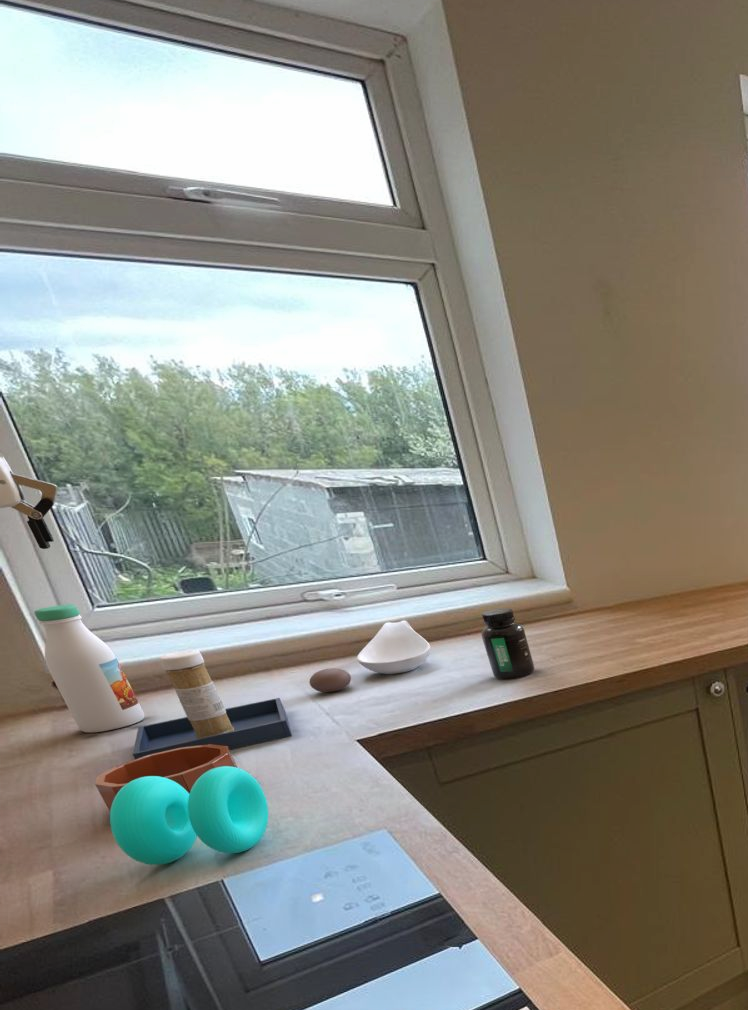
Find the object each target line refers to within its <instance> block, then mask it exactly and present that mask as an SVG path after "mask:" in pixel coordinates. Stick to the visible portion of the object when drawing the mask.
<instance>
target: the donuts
mask: <svg viewBox="0 0 748 1010" xmlns="http://www.w3.org/2000/svg"><path fill="white" fill-rule="evenodd" d="M109 822H110V829H111V832H112V835H113V838H114V840H115V842H116V844H117V845H118V847H119V848H120V849H121V850H122V851H123V852H124V853H125V854H126V856H128V857H130V858H131V859H132V860H133V861H136V862H138V863H141V864H145V865H149V866H150V865H151V866H160V865H166V864H170V863H173V862H175V861H177V860H179V859H181V858H182V857H184V856H185V855H186V854H187V853H188V852H189V851H190V849H191V848H192V847H193V845H194V844H195V842H196V841H197V838H198V839H199V840H200V841H201V842H202V843H203V844H204V845H206V846H207V847H208V848H210V849H212V850H215V851H217V852H219V853H224V854H238V853H243V852H245V851H248V850H250V849H252V848H253V847H255V846H256V845H257V844H258V843H259V842H260V841H261V840H262V838H263V837H264V834H265V832H266V830H267V827H268V823H269V807H268V801H267V798H266V796H265V792H264V790H263V788H262V786H261V785H260V783H259V782H258V780H257V779H256V778H255V777H254V776H253V775H252V774H251V773H249V772H247V771H246V770H244V769H242V768H239V767H238V768H236V767H230V766H223V767H217V768H214V769H211V770H209V771H207V772H205V773H204V774H203V775H202V776H200V777H199V778H198V779H197V781H196V782H195V784H194V785H193V787H192V789H191V791H190V794H189V793H188V792H187V791H186V790H185V789H184V788H183V787H182V786H181V785H179V784H178V783H176V782H174V781H172V780H170V779H167V778H164V777H159V776H146V777H141V778H138V779H135V780H132V781H131V782H129V783H127V784H126V785H125V786H123V787H122V788H121V789H120V791H119V792H118V793H117V795H116V797H115V798H114V801H113V803H112V806H111V811H109Z"/></svg>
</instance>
